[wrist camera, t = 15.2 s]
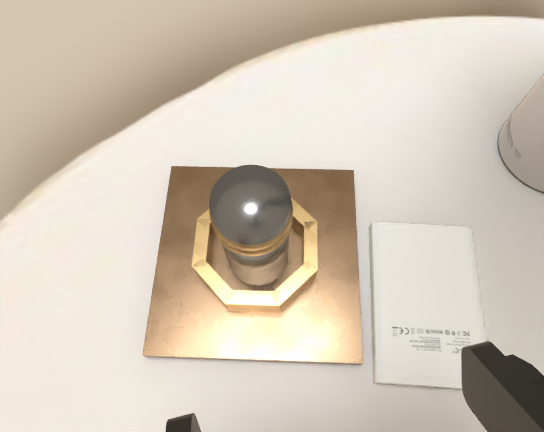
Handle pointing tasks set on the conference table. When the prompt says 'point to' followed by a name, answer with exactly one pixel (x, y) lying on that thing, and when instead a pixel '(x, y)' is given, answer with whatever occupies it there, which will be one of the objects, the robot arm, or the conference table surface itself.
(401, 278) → the external hard drive
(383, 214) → the conference table surface
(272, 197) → the cylinder
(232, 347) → the octagon frame base plate
